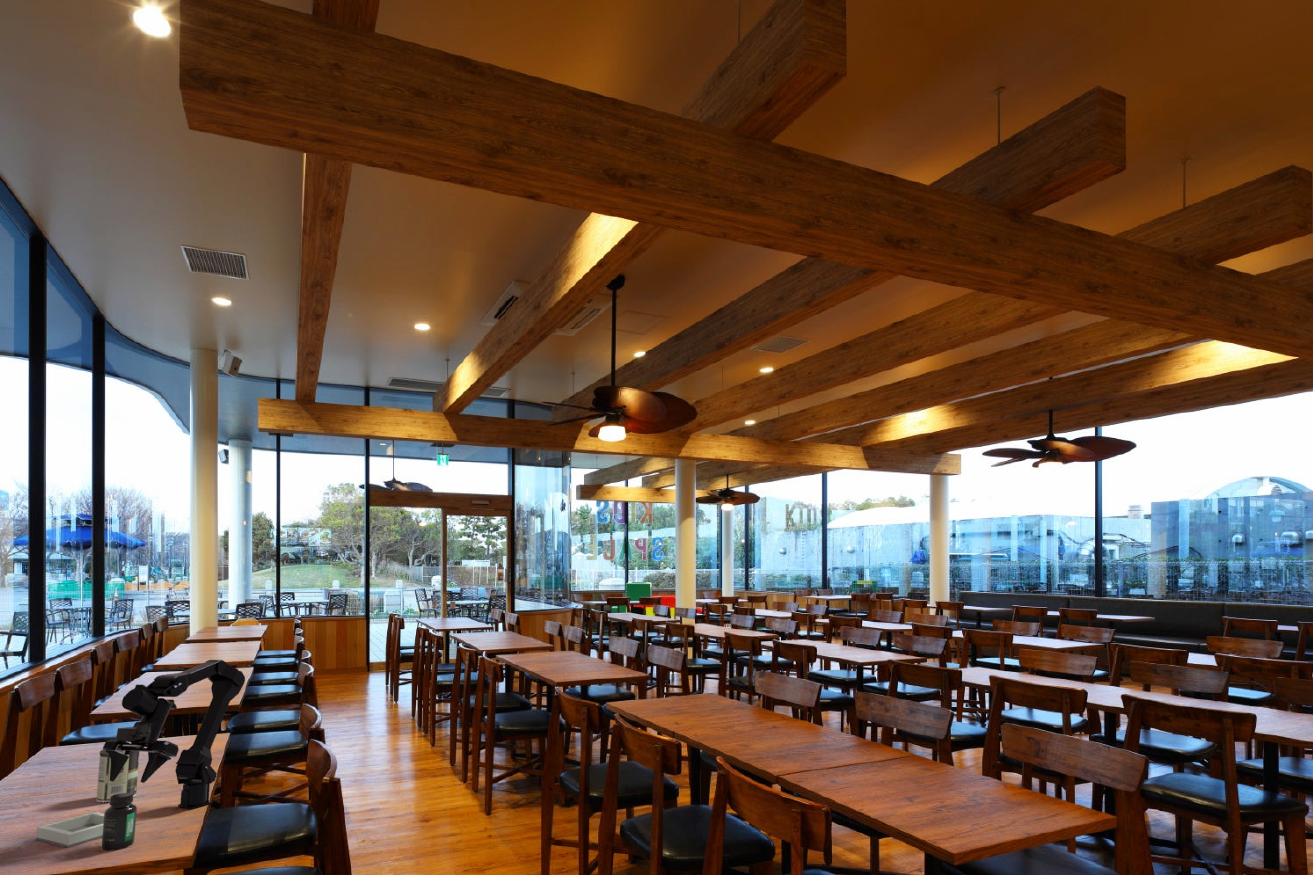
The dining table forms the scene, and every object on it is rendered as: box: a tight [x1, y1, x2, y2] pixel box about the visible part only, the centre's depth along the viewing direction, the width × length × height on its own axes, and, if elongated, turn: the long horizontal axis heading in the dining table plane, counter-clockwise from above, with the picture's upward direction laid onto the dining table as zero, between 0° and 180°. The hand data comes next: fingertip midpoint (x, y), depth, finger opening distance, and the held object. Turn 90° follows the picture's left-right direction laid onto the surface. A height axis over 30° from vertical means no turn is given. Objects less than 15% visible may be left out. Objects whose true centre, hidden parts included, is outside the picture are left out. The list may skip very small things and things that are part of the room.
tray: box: [35, 811, 105, 848], centre depth 210 cm, size 14×14×3 cm
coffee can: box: [95, 747, 141, 804], centre depth 243 cm, size 10×10×14 cm
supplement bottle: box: [101, 793, 138, 851], centre depth 202 cm, size 7×7×12 cm
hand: (126, 781), depth 211 cm, fingers open, 9 cm apart
